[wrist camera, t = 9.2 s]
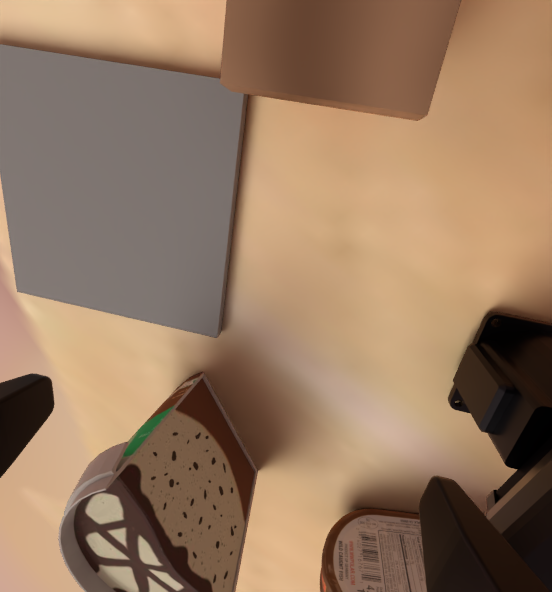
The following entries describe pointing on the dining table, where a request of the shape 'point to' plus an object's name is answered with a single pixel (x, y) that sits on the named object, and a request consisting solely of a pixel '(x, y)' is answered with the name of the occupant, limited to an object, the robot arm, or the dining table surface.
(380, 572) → the tin
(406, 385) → the dining table surface
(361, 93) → the lid
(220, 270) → the mat
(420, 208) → the dining table surface
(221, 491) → the food container
